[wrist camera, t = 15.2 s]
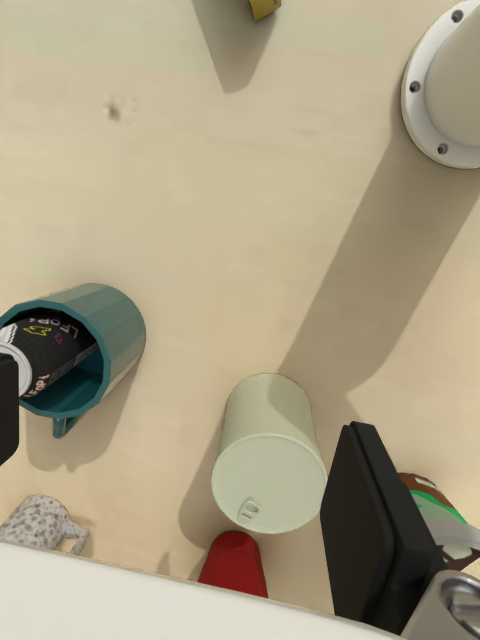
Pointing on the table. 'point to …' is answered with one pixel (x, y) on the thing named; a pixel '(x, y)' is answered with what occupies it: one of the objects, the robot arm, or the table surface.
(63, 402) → the mug
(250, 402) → the can
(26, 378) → the beverage can
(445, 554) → the food container
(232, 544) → the plastic cup
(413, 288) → the table surface
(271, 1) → the medication box
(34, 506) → the mug
